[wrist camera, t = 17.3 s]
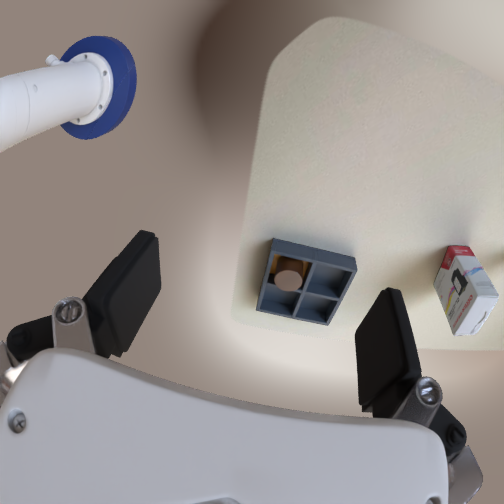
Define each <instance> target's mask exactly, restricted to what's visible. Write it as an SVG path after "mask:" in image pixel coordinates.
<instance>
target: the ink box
mask: <svg viewBox="0 0 504 504" xmlns="http://www.w3.org/2000/svg"><path fill="white" fill-rule="evenodd" d="M434 287H435V289H436V292H437V294H438V296H439V299H440V301H441V304H442V306H443V309H444V311H445V314H446V317H447V319H448V322H449V325H450V327H451V330H452V333H453V336H462V335H474V334H476V333H477V332H478V331H479V329H480V328H481V326H482V325H483V323H484V322H485V320H486V319H487V317H488V316H489V314H490V312H491V311H492V309H493V308H494V306H495V304H496V303H497V301H498V297H499V294H498V293H497V291H496V289H495V287H494V285H493V284H492V282H491V280H490V279H489V277H488V275H487V274H486V272H485V271H484V269H483V267H482V266H481V264H480V262H479V261H478V259H477V258H476V257H475V255H474V253H473V252H472V250H471V249H470V247H465V246H449V247H448V249H447V252H446V255H445V257H444V260H443V263H442V265H441V268H440V270H439V273H438V275H437V277H436V280H435V282H434Z"/></svg>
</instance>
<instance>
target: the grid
mask: <svg viewBox="0 0 504 504" xmlns="http://www.w3.org/2000/svg"><path fill="white" fill-rule="evenodd" d="M280 256H285V257H290V258H294V259H298V260H302V261H303V281H302V285H301V286H300V288H298V289H297V290H294V291H283V290H281V289H279V288H278V287H277V286H276V284H275V282H274V278H275V272H276V265H277V260H278V259H279V257H280ZM356 272H357V265H356V260H355V258H353V257H349V256H345V255H341V254H337V253H333V252H329V251H325V250H321V249H317V248H313V247H308V246H304V245H300V244H296V243H292V242H287V241H283V240H279V239H275V238H273V242H272V246H271V250H270V254H269V258H268V262H267V266H266V270H265V274H264V278H263V282H262V286H261V290H260V294H259V298H258V302H257V307H256V311H261V312H265V313H269V314H274V315H278V316H283V317H288V318H292V319H297V320H302V321H307V322H312V323H317V324H322V325H327V326H328V325H329V323H330V322H331V320H332V318H333V316H334V314H335V313H336V311H337V309H338V307H339V305H340V303H341V301H342V300H343V298H344V296H345V294H346V292H347V290H348V288H349V286H350V284H351V282H352V280H353V278H354V276H355V274H356Z"/></svg>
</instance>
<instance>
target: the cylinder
mask: <svg viewBox="0 0 504 504" xmlns="http://www.w3.org/2000/svg"><path fill="white" fill-rule="evenodd" d="M302 281H303V261H302V260H298V259H294V258H290V257H285V256H280V257H279V259H278V260H277V265H276V272H275V278H274V282H275V284H276V286H277V287H278V288H279V289H281V290H283V291H294V290H297V289H298V288H300V286H301V285H302Z"/></svg>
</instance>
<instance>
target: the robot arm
mask: <svg viewBox="0 0 504 504" xmlns="http://www.w3.org/2000/svg"><path fill="white" fill-rule="evenodd" d="M45 63H46V64H47V65H48V66H49V67H44V68H38V69H33V70H29V71H24V72H20V73H16V74H12V75H8V76H5V77H2V78H0V153H1V152H2V151H4V150H6V149H8V148H10V147H11V146H14V145H16V144H18V143H20V142H22V141H24V140H26V139H28V138H30V137H32V136H35V135H37V134H39V133H41V132H43V131H46V130H48V129H51V128H53V127H55V126H58V125H61V124H63V123H66V122H68V121H70V122H72V123H74V124H77V125H85V124H88V123H91V122H93V121H95V120H97V119H98V118H99V117H100V116H101V115H102V114H103V113H104V112H105V110H106V109H107V107H108V105H109V103H110V100H111V97H112V93H113V74H112V70H111V67H110V65H109V64H108V62H107V60H106V59H105V58H104V57H103V56H101V55H99V54H97V53H90V52H88V53H82V54H79V55H77V56H75V57H74V58H72V59H71V60H70V61H69V62H64V61H59V59H57V58H56V57H55V56H54V55H50V56H48V58H47V59H46V61H45ZM160 290H161V275H160V260H159V244H158V238H157V237H155V234H154V233H152V232H148V231H144V230H140V231H139V232H138V233H137V235H135V237H134V238H133V239H132V240H131V242H129V244H128V245H127V246H126V247H125V248H124V250H123V251H122V252H121V253H120V254H119V255H118V256H117V257H115V258H114V259H113V260H112V262H111V263H110V264H109V265H108V266H107V268H106V269H105V270H104V272H103V273H102V274H101V275H100V276H99V278H98V279H97V280H96V282H95V283H94V284H93V285H92V287H91V288H90V289H89V291H88V292H87V293H86V295H85V296H84V297H83V299H80V298H78V297H67V298H64V299H62V300H61V301H59V302H58V303H57V304H56V305H55V306H54V308H53V311H52V315H50V316H47V317H43V318H40V319H37V320H34V321H30V322H27V323H24V324H20V325H18V326H16V327H14V328H13V329H12V330H11V331H10V333H9V334H8V337H7V342H5V343H4V342H3V341H1V342H0V504H467V503H468V501H470V499H471V498H472V497H473V496H474V495H475V494H476V493H477V491H478V490H479V489H480V487H481V486H482V482H483V475H482V472H481V470H480V467H479V466H478V464H477V461H476V459H475V457H474V455H473V453H472V451H471V449H470V448H469V446H465V443H466V438H467V436H466V431H465V428H464V427H463V425H462V424H461V423H460V422H459V421H458V420H457V419H456V418H455V417H454V416H453V415H452V414H451V413H450V412H449V411H448V410H447V409H446V408H445V407H444V406H443V405H442V404H441V401H442V390H441V387H440V385H439V384H438V383H437V382H436V380H434V379H433V378H431V377H422V375H421V372H422V371H421V367H420V362H419V357H418V353H417V348H416V344H415V340H414V336H413V332H412V328H411V324H410V321H409V317H408V314H407V310H406V307H405V303H404V300H403V297H402V293H401V291H400V290H398V289H393V288H389V287H388V288H386V289H385V290H382V291H381V292H380V294H379V295H378V297H377V299H376V300H375V302H374V304H373V305H372V307H371V308H370V310H369V312H368V313H367V315H366V316H365V318H364V319H363V321H362V322H361V324H360V325H359V327H358V328H357V330H356V333H355V345H356V358H357V373H358V396H359V404H360V405H362V412H372V413H373V418H368V417H353V416H340V415H330V414H320V413H312V412H304V411H297V410H290V409H284V408H278V407H272V406H266V405H261V404H256V403H251V402H247V401H242V400H237V399H233V398H229V397H225V396H220V395H217V394H212V393H209V392H205V391H201V390H198V389H194V388H191V387H187V386H184V385H181V384H177V383H174V382H171V381H168V380H165V379H162V378H159V377H156V376H153V375H150V374H147V373H145V372H142V371H138V370H136V369H133V368H131V367H128V366H125V365H122V364H120V363H117V362H115V361H112V360H110V359H108V358H109V357H110V355H111V354H112V355H115V356H117V357H121V355H122V353H123V352H127V351H128V349H129V347H130V345H131V343H132V341H133V340H134V338H135V336H136V334H137V332H138V330H139V328H140V326H141V325H142V323H143V321H144V319H145V317H146V316H147V314H148V312H149V310H150V308H151V307H152V305H153V303H154V301H155V299H156V298H157V296H158V294H159V292H160Z"/></svg>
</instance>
